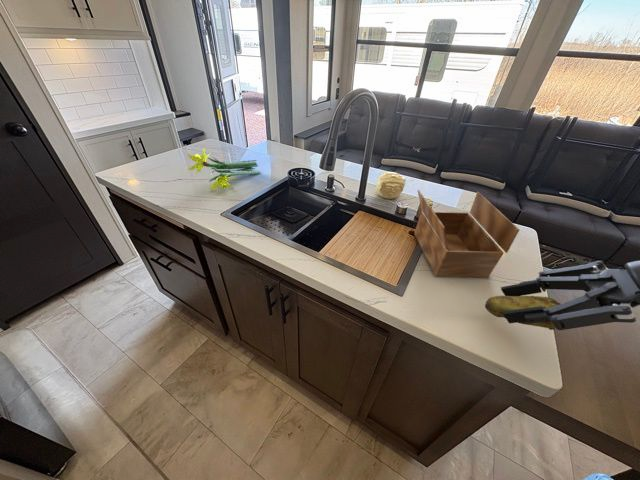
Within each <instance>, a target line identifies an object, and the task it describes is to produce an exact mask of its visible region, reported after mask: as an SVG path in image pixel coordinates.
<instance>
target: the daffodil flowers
mask: <svg viewBox="0 0 640 480" xmlns="http://www.w3.org/2000/svg"><path fill="white" fill-rule="evenodd" d="M211 153H212V152H211V151H210V153H208V154H207V155H206V149H205V145H204V146H202V152H201V156H200V155H199V154H198V153H196V154H194V155H193V154H187V156H188V158H190V159H191V161H193V162H195V164H194V165H191V166H190V167H189V168H187V171H194V170H196V173H195V174H198V173H200V172H202V170H203V167H205V168H206V167H207V168H211V170H212V172H211V173H210V175H212V174H213V173H214V172H216V173H219V174H218V175H216V176H214V177H212V178H211V179H209V180H208V182H210V183H211V182H213V181H215V182H213V183H211V184H210V186H209V187H208V189H211V188H212V191H211V192H214V191H216V189H217V188H219V187H220V189H221V190H225V189H227V188H229V189H233V187H232V185H230V183H229V182H228V181H230V180H235V179H237V177H234V176H246V175H247V176H248V175H258V174H261V171H260V170H256V168H257V167H259V166H258V163H257V159H252V160H251V159H250V160H242V161H241V160H240V161H233V162H231V161H230V162H229V161H227V162H224V161H220V160H218V159H217V158H215V157H214V156H213V157H212V158H213V159H212V158H210V157H209V156H210V155H211ZM207 160H209V161H211V162H213V163H209V162H208V161H207Z"/></svg>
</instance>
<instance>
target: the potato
mask: <svg viewBox="0 0 640 480" xmlns="http://www.w3.org/2000/svg"><path fill="white" fill-rule="evenodd" d="M559 304H561V303H560V302H559V301H558V300H556V299H554V298H551V297H548V296H539V295H538V296H537V295H523V296H505V295H493V296H491V297H488V298H487V300H486V301H485V304H484V307H485V309H486V311H487V312H488V313H490V314H491V315H492V316H494V317H497V318H504V319H506V318H505V316H504V315H503V311H510V310H517V309H525V308H532V307H540V306H542V307H544V306H545V307H546V308H547V309H548V308H551V307H554V306H556V305H559ZM555 315H557V314H555ZM562 323H563V322H562ZM518 324H521V325H526V326H532V327H540V328H545V329H548V330H550V331H555V330H556V327H555V326H554V325H553V324H552V323H551V322H539V323H538V322H537V323H528V322H519V323H518Z"/></svg>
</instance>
